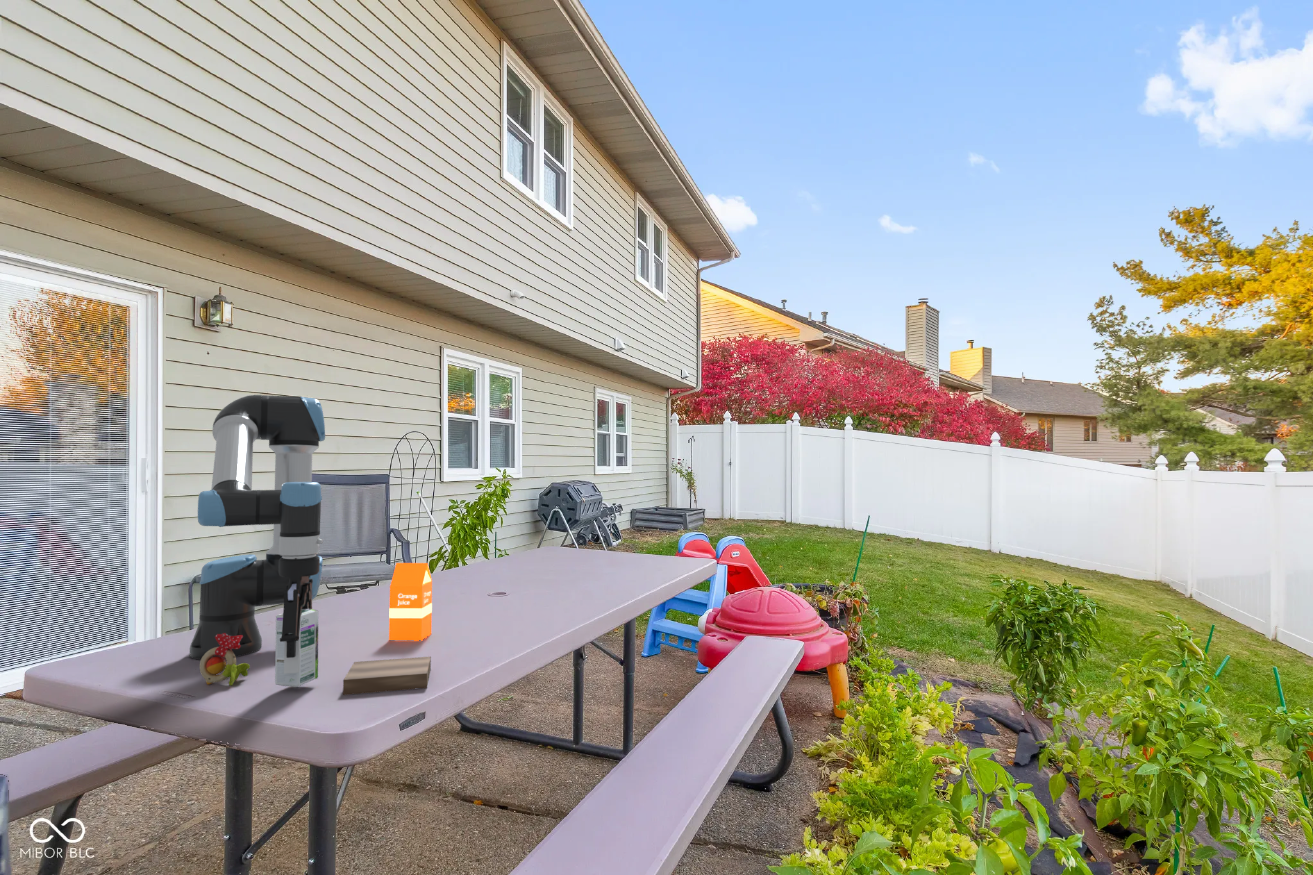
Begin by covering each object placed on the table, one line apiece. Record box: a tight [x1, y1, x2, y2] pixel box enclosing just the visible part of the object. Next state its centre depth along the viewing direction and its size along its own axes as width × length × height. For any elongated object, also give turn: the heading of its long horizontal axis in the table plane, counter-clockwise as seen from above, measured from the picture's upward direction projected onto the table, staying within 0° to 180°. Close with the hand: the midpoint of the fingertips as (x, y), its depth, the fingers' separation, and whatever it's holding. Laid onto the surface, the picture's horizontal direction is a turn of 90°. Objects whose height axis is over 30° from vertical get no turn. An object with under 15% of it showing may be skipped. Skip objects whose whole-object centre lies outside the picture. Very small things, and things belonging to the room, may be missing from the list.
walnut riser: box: [342, 656, 432, 696], centre depth 143 cm, size 13×16×3 cm
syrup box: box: [274, 608, 319, 688], centre depth 139 cm, size 6×6×14 cm
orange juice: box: [388, 562, 433, 642], centre depth 181 cm, size 8×9×20 cm
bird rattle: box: [199, 633, 251, 687], centre depth 142 cm, size 6×11×9 cm
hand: (296, 666), depth 139 cm, fingers closed on syrup box, 7 cm apart
